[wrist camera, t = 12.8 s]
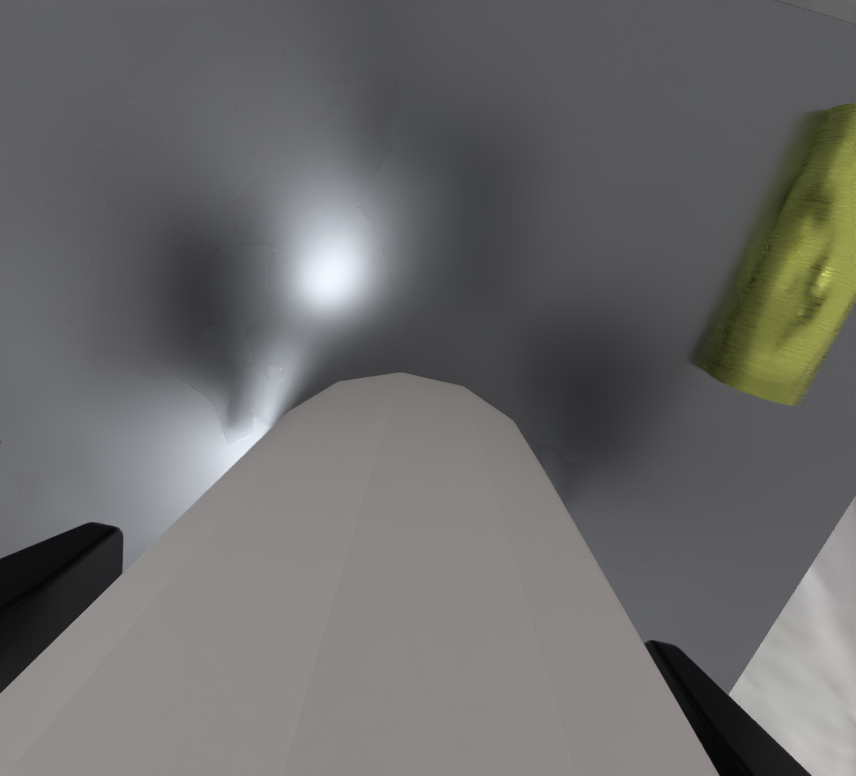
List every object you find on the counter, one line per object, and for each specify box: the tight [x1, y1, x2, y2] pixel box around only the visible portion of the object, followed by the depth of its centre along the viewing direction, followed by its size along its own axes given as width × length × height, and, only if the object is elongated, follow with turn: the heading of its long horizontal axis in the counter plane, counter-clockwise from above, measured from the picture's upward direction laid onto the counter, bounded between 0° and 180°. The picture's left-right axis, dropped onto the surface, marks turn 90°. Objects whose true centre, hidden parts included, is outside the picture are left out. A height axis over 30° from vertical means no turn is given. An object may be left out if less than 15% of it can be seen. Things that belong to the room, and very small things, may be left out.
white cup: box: [0, 372, 719, 776], centre depth 6 cm, size 7×7×7 cm
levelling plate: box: [0, 0, 856, 694], centre depth 10 cm, size 18×16×2 cm
